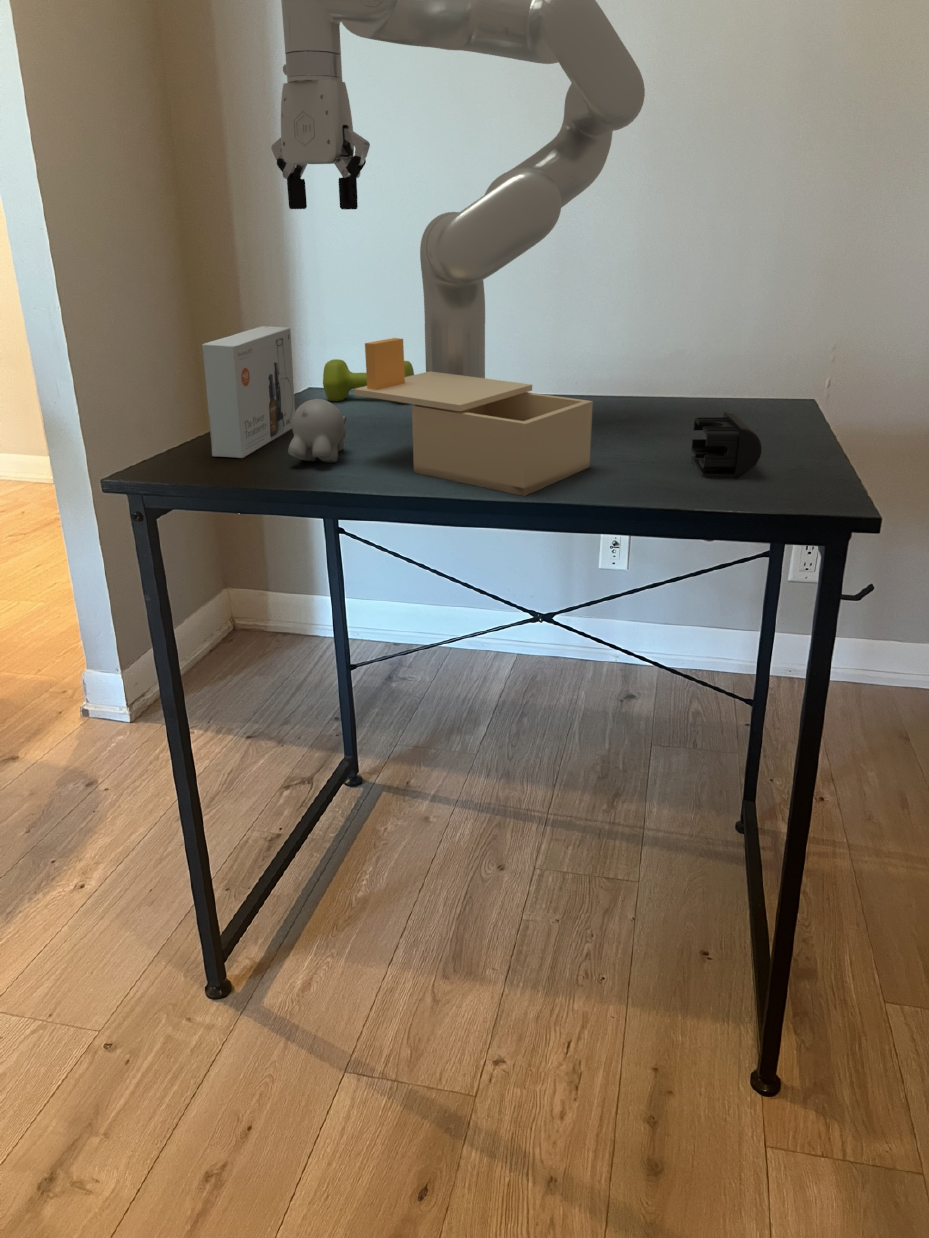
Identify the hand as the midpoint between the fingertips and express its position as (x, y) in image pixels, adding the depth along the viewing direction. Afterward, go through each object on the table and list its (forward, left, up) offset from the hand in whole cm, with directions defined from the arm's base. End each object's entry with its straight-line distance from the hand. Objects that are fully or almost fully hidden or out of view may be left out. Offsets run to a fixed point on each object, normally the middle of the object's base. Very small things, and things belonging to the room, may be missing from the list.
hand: (323, 209), depth 128 cm
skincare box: (+12, -6, -33) cm, 35 cm away
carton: (+3, +35, -32) cm, 47 cm away
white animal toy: (+13, +10, -33) cm, 37 cm away
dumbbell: (-20, -12, -33) cm, 40 cm away
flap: (+3, +25, -23) cm, 34 cm away
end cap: (-15, +59, -33) cm, 69 cm away
